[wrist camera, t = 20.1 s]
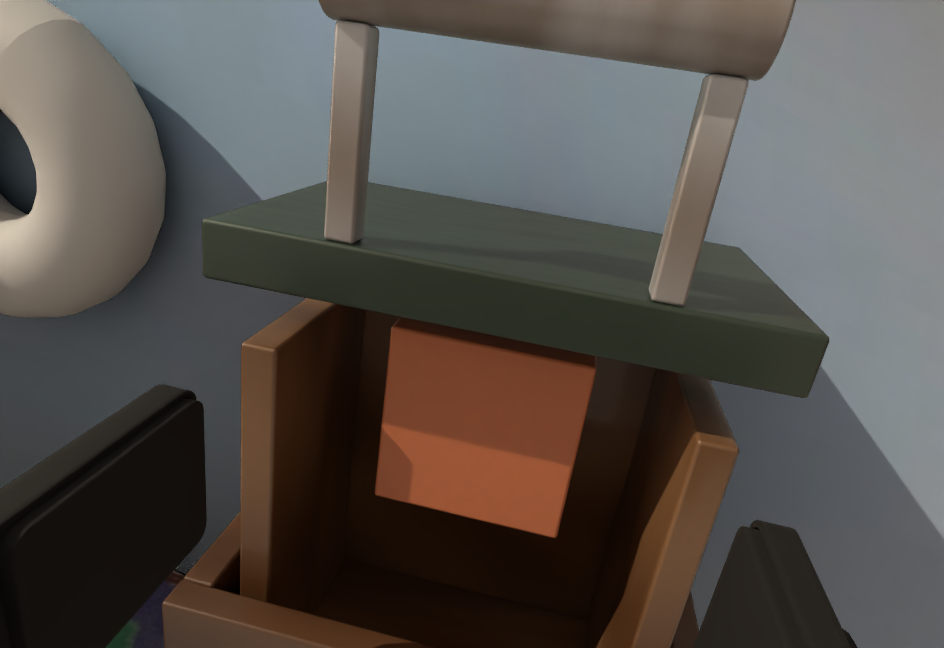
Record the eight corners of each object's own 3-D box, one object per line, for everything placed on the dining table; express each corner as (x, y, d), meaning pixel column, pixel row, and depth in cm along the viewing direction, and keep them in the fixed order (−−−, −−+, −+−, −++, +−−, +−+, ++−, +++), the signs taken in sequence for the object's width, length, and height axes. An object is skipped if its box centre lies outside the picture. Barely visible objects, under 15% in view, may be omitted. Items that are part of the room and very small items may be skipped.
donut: (-81, 232, 22) (160, 346, 22) (-195, 253, 19) (84, 386, 19) (-74, -66, 19) (218, 63, 18) (-213, -102, 16) (136, 54, 15)
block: (438, 272, 17) (390, 326, 13) (596, 302, 17) (597, 368, 12) (421, 410, 19) (373, 496, 15) (564, 441, 18) (556, 540, 14)
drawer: (350, -30, 16) (176, -125, 9) (807, 30, 15) (990, -29, 8) (315, 544, 23) (200, 729, 16) (625, 622, 21) (639, 859, 15)
